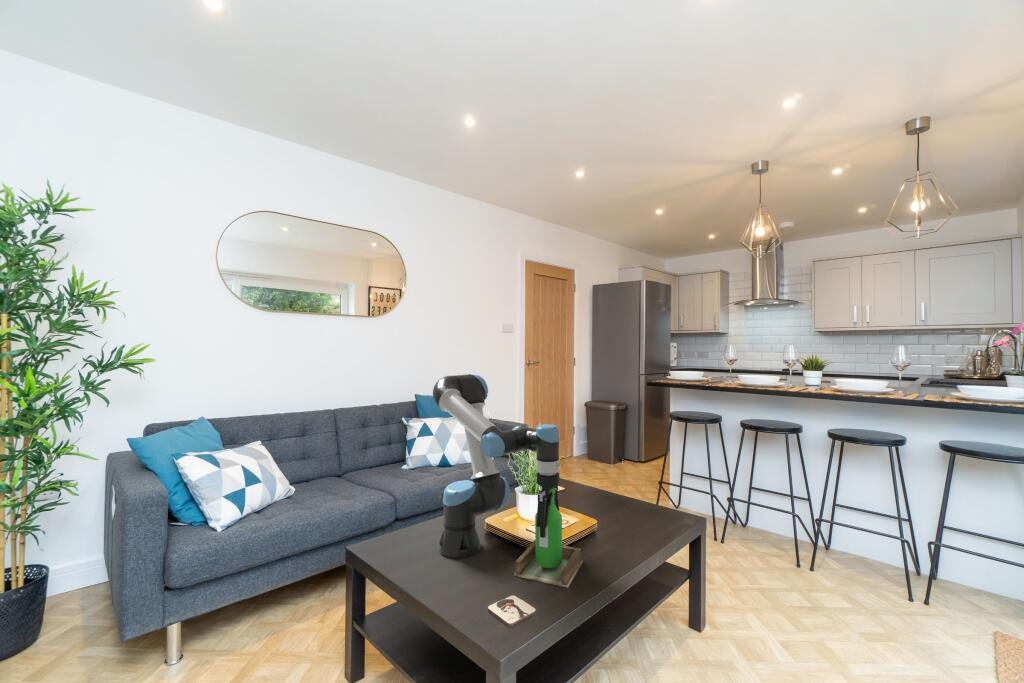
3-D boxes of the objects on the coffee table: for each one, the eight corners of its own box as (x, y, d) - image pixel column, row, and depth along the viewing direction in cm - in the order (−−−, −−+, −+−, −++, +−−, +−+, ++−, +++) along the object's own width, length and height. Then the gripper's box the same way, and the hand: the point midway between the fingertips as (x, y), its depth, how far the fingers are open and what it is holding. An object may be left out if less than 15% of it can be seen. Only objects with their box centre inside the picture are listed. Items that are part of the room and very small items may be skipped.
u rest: (514, 575, 143) (514, 561, 143) (533, 552, 158) (533, 539, 158) (568, 587, 135) (567, 572, 135) (582, 562, 151) (582, 549, 151)
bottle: (560, 570, 141) (560, 492, 141) (533, 568, 143) (533, 490, 143) (563, 557, 150) (562, 483, 150) (537, 555, 151) (537, 482, 152)
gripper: (547, 482, 135) (548, 556, 135) (568, 465, 155) (568, 529, 154) (525, 480, 138) (525, 552, 138) (548, 463, 158) (548, 526, 158)
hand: (548, 540), depth 146 cm, fingers closed on bottle, 9 cm apart
